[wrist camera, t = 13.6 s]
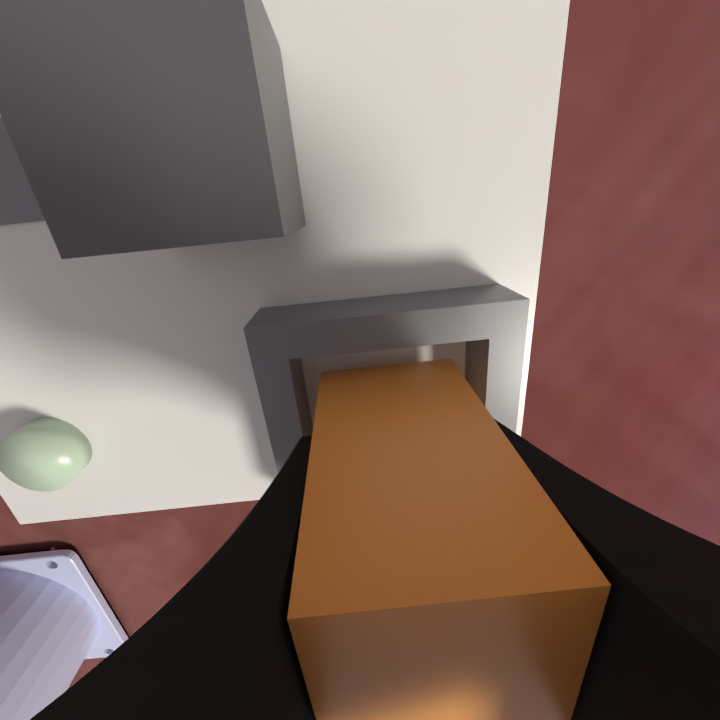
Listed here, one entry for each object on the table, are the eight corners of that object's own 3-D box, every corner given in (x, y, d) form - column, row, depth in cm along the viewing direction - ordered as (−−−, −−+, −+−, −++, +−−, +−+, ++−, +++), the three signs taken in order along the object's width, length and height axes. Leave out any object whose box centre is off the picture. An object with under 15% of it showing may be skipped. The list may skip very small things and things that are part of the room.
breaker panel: (48, 495, 15) (-28, 571, 12) (-233, 24, 9) (-553, -78, 6) (501, 449, 15) (542, 512, 12) (545, -54, 9) (655, -198, 6)
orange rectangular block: (336, 474, 12) (329, 764, 6) (320, 372, 11) (287, 619, 4) (449, 462, 12) (565, 739, 6) (451, 358, 11) (611, 585, 4)
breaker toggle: (165, 239, 10) (61, 259, 6) (112, 63, 8) (-70, -50, 5) (306, 225, 10) (284, 236, 6) (279, 46, 8) (229, -79, 5)
